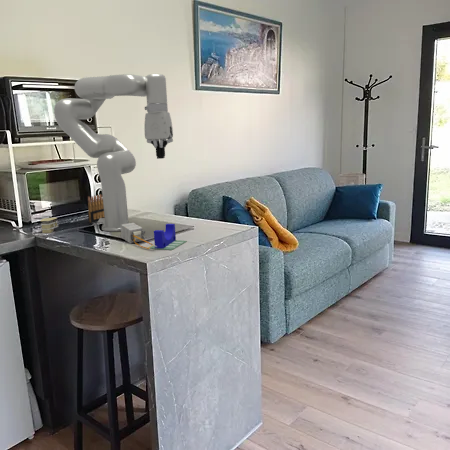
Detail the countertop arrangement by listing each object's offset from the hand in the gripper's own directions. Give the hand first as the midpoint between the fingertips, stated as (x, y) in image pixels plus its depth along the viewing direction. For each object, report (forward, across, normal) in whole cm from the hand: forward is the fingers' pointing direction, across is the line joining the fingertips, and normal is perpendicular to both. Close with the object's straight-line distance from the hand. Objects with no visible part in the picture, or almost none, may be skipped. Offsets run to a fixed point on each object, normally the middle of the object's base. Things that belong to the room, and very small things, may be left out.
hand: (160, 158), depth 175 cm
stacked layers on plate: (+30, -50, -8) cm, 59 cm away
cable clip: (+29, +9, -18) cm, 35 cm away
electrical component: (+29, +1, -19) cm, 35 cm away
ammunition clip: (+29, -43, +15) cm, 54 cm away
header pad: (+29, +10, -18) cm, 36 cm away
